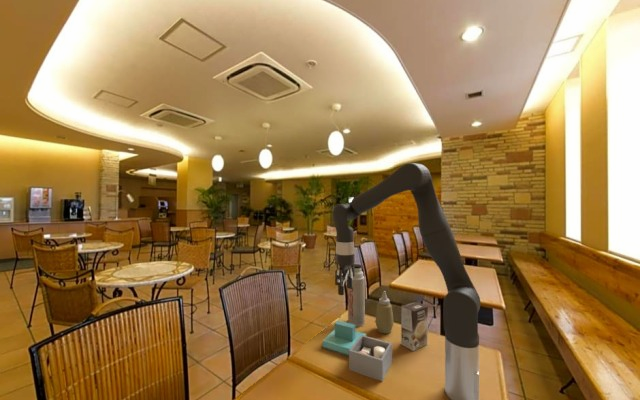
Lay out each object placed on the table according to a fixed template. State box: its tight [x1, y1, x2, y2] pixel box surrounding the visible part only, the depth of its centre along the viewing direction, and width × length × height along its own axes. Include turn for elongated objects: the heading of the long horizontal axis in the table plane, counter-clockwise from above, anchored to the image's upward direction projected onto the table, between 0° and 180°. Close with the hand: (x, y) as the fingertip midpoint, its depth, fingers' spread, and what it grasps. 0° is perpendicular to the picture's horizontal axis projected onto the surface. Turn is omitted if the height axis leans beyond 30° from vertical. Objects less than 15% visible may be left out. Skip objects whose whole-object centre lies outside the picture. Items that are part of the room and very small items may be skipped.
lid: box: [322, 320, 368, 355], centre depth 111 cm, size 14×14×8 cm
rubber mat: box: [321, 345, 349, 358], centre depth 111 cm, size 14×14×1 cm
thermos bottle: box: [347, 263, 366, 328], centre depth 130 cm, size 8×8×28 cm
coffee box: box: [400, 301, 429, 352], centre depth 111 cm, size 9×6×16 cm
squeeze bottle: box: [374, 290, 395, 335], centre depth 122 cm, size 8×8×18 cm
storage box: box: [348, 335, 393, 382], centre depth 97 cm, size 12×12×7 cm
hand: (345, 291), depth 111 cm, fingers open, 8 cm apart
